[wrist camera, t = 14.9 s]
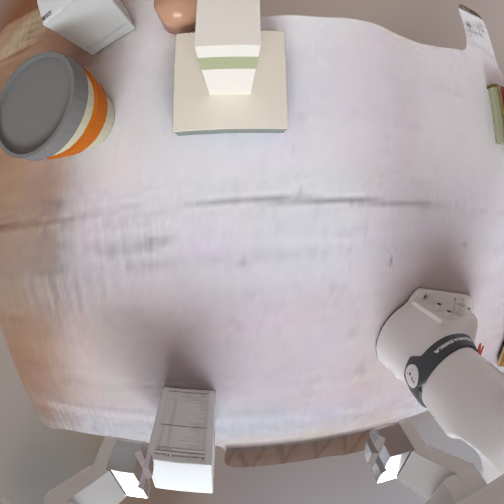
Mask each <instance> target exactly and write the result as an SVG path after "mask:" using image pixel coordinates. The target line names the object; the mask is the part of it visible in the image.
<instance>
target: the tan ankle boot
mask: <svg viewBox="0 0 504 504" xmlns="http://www.w3.org/2000/svg"><path fill="white" fill-rule="evenodd" d="M497 365H498V366H504V346H503V349H502V351H501V354H500V356H499V359H498V362H497Z"/></svg>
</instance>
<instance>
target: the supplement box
mask: <svg viewBox="0 0 504 504" xmlns="http://www.w3.org/2000/svg"><path fill="white" fill-rule="evenodd" d="M215 422H216V397H215V391H210V390H194V389H181V388H170V387H164V388H163V392H162V396H161V400H160V403H159V407H158V411H157V415H156V419H155V423H154V427H153V431H152V435H151V439H150V443H149V447H148V451H147V452H149V453H150V454H151V455H152V458H153V462H154V470H153V475H152V479H153V482H154V485H155V487H156V488H162V489H169V490H178V491H189V492H201V493H213V480H214V456H215Z"/></svg>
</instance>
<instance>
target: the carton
mask: <svg viewBox="0 0 504 504" xmlns="http://www.w3.org/2000/svg"><path fill="white" fill-rule="evenodd" d="M260 47H261V27H260V0H197V12H196V28H195V50H196V53H197V56H198V58H197V59H198V62H199V65H200V68H201V70H202V72H203V75H204V78H205V82H206V85H207V88H208V91H209V94H210V95H218V94H251V90H252V85H253V80H254V75H255V70H256V69H257V64H258V59H259V52H260Z"/></svg>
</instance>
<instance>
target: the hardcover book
mask: <svg viewBox="0 0 504 504" xmlns="http://www.w3.org/2000/svg"><path fill="white" fill-rule="evenodd" d="M487 89H488V91H489V96H490V102H491V108H492V114H493V122H494V130H495V139H496V143H499V144H504V87H502V86H499V85H497V84H493V85H489V86H487Z"/></svg>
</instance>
